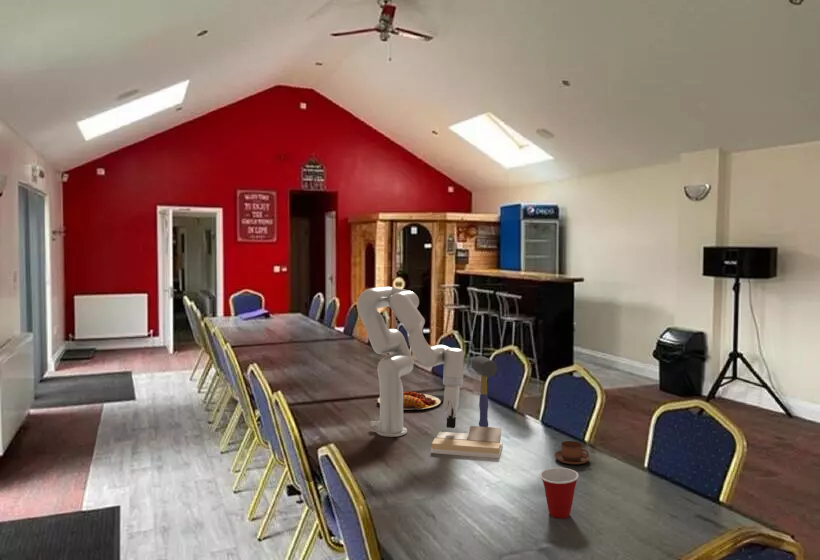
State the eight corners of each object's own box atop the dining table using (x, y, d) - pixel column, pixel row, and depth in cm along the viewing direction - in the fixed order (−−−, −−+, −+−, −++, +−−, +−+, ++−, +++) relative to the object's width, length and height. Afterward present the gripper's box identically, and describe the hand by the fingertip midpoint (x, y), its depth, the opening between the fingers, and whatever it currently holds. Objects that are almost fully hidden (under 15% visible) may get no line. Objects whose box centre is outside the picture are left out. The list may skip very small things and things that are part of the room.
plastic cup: (534, 507, 183) (535, 467, 182) (570, 505, 184) (571, 465, 183) (545, 523, 172) (546, 481, 171) (583, 522, 173) (584, 480, 172)
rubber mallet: (498, 432, 255) (498, 359, 253) (481, 433, 253) (481, 360, 251) (486, 423, 267) (486, 354, 265) (469, 424, 265) (470, 355, 263)
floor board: (431, 453, 230) (431, 443, 229) (438, 441, 243) (438, 432, 243) (499, 458, 224) (499, 448, 224) (502, 445, 238) (502, 436, 237)
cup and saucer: (590, 457, 225) (590, 440, 225) (588, 469, 214) (588, 451, 214) (556, 453, 229) (556, 437, 229) (552, 465, 218) (552, 447, 217)
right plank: (468, 443, 234) (468, 439, 233) (470, 429, 240) (470, 425, 239) (499, 445, 232) (499, 442, 231) (501, 431, 237) (501, 427, 236)
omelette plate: (456, 398, 308) (456, 384, 307) (419, 418, 279) (418, 403, 278) (403, 391, 325) (403, 378, 324) (363, 410, 295) (362, 395, 295)
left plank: (436, 442, 236) (436, 437, 236) (439, 436, 243) (439, 431, 243) (466, 444, 234) (466, 439, 233) (469, 438, 240) (469, 433, 240)
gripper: (446, 375, 247) (444, 420, 248) (439, 384, 232) (437, 432, 234) (465, 377, 245) (463, 422, 246) (459, 386, 230) (457, 434, 232)
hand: (450, 427), depth 240 cm, fingers closed
